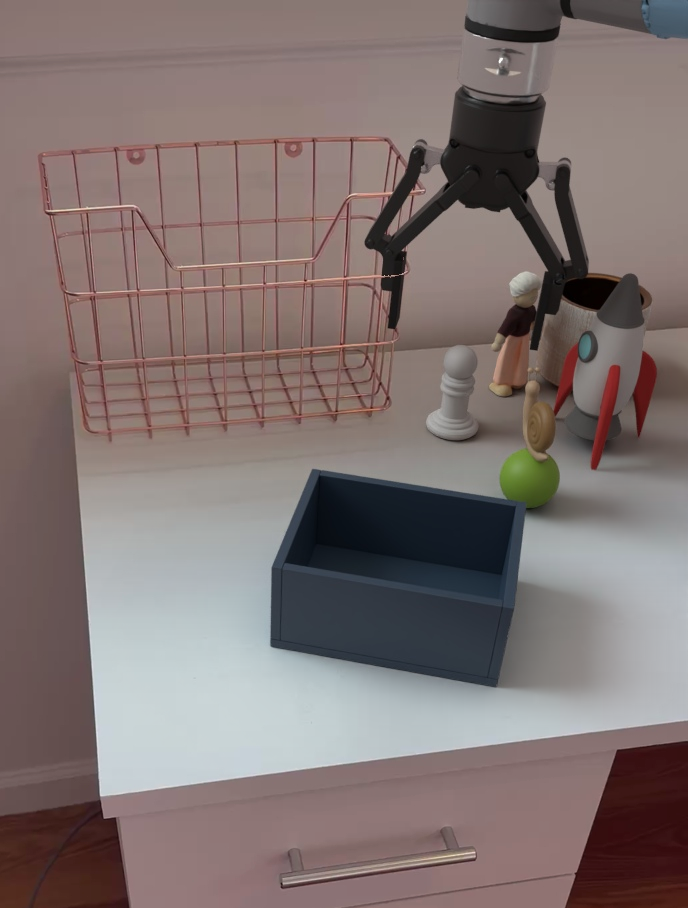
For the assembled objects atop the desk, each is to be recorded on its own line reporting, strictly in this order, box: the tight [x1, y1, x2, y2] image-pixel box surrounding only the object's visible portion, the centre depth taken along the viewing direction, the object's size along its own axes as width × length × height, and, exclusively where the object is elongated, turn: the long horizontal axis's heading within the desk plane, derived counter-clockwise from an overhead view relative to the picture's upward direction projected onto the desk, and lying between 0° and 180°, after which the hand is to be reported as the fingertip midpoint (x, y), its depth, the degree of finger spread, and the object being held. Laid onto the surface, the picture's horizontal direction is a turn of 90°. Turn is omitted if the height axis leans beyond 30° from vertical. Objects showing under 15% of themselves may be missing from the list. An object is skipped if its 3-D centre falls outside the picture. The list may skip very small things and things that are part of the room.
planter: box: [535, 272, 654, 394], centre depth 112 cm, size 11×11×10 cm
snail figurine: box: [498, 366, 561, 509], centre depth 92 cm, size 5×6×12 cm
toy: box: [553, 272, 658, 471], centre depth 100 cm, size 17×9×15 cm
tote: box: [269, 468, 527, 688], centre depth 81 cm, size 18×14×8 cm
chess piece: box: [425, 344, 479, 441], centre depth 102 cm, size 5×5×9 cm
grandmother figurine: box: [488, 270, 543, 397], centre depth 109 cm, size 8×4×13 cm, turn 150°
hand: (463, 333), depth 99 cm, fingers open, 13 cm apart
